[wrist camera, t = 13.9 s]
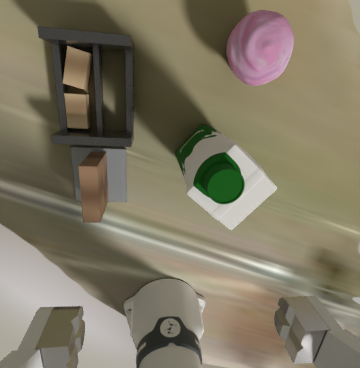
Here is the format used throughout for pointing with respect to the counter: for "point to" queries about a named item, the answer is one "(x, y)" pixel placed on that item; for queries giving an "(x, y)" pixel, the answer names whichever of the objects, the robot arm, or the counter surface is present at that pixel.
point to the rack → (96, 42)
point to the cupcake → (260, 47)
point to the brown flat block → (93, 186)
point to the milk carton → (222, 176)
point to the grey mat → (114, 171)
